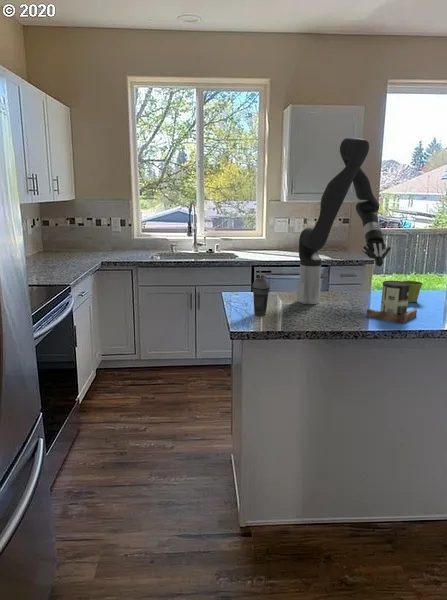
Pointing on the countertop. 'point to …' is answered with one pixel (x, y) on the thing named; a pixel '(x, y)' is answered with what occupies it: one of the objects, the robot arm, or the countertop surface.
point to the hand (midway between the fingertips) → (379, 265)
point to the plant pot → (414, 290)
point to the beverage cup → (260, 295)
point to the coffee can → (395, 297)
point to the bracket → (392, 315)
